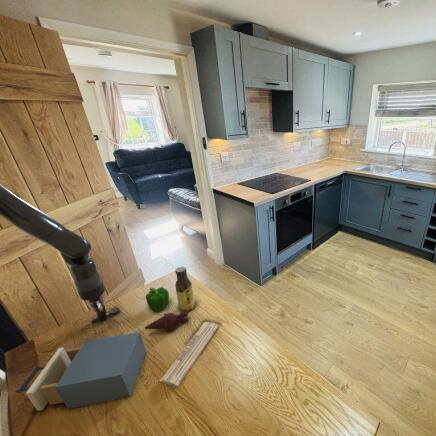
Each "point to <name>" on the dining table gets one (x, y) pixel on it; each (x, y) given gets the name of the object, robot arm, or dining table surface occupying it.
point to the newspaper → (189, 355)
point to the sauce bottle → (184, 290)
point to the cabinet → (102, 370)
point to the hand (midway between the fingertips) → (102, 318)
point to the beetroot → (168, 321)
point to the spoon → (107, 314)
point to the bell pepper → (157, 298)
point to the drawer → (48, 379)
